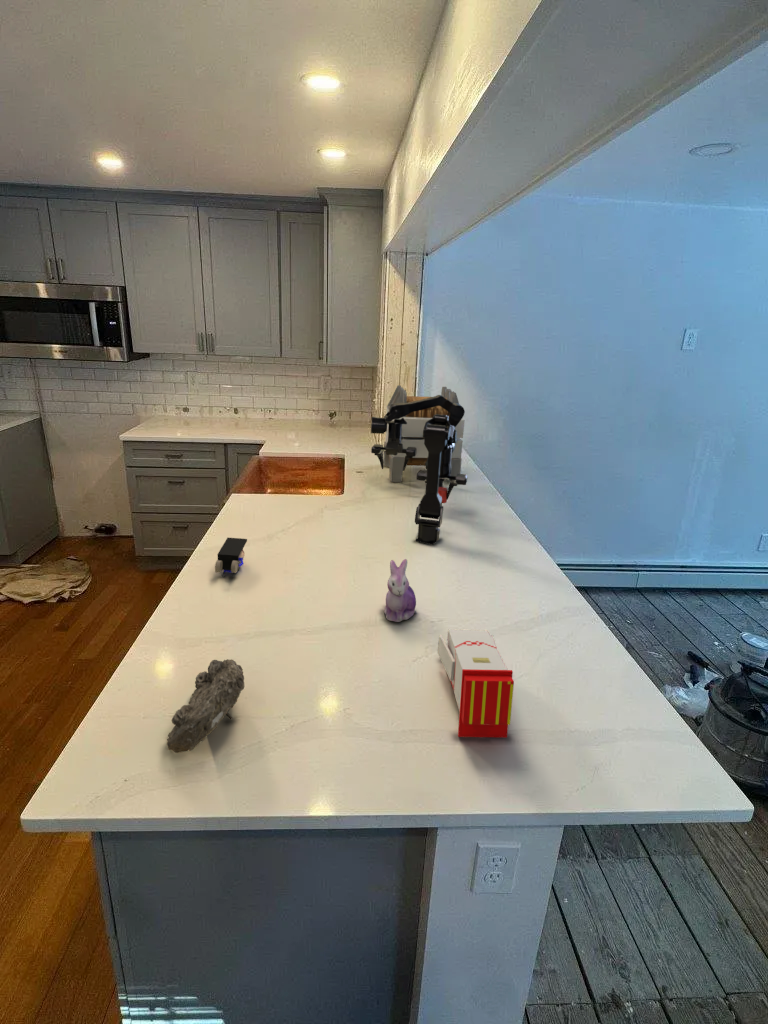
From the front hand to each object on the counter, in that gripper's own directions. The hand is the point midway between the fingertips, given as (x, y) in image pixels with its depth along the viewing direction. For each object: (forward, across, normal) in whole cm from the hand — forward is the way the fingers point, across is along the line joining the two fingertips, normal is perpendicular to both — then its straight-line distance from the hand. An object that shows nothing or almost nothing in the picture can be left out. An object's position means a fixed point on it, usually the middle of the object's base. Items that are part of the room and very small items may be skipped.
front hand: (440, 498), depth 218 cm
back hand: (-3, +24, -23) cm, 34 cm away
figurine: (+7, -1, +79) cm, 79 cm away
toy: (+7, -22, +105) cm, 108 cm away
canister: (+1, 0, 0) cm, 1 cm away
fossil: (+7, +25, +127) cm, 130 cm away
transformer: (+7, +18, -56) cm, 59 cm away
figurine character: (+7, +52, +68) cm, 86 cm away
